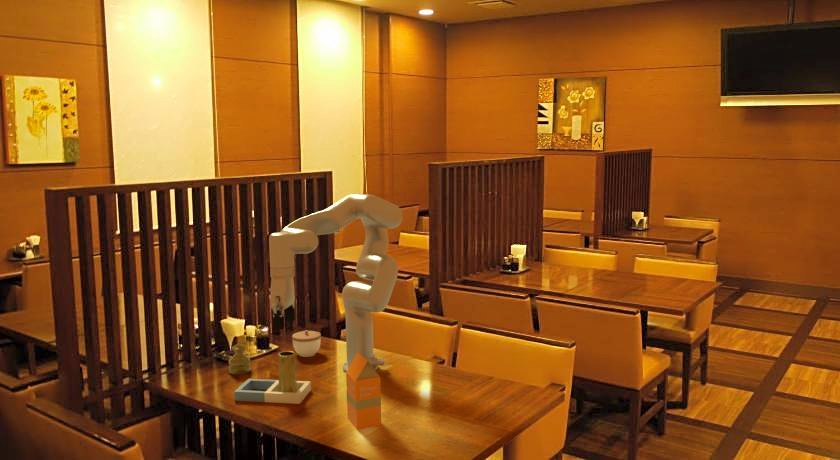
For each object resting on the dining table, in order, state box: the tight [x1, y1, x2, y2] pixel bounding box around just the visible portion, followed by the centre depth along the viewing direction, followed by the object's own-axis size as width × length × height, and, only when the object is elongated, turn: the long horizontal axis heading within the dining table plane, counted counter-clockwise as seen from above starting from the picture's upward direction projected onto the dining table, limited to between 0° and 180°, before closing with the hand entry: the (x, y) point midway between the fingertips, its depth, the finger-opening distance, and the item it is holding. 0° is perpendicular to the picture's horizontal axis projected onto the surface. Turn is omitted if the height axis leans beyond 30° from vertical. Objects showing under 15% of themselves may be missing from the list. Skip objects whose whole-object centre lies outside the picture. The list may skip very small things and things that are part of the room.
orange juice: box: [345, 353, 382, 430], centre depth 205 cm, size 8×9×20 cm
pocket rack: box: [233, 378, 312, 405], centre depth 227 cm, size 22×12×3 cm, turn 81°
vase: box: [277, 350, 298, 393], centre depth 225 cm, size 6×6×14 cm
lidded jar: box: [291, 329, 322, 358], centre depth 267 cm, size 11×11×9 cm
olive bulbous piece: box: [228, 343, 251, 376], centre depth 249 cm, size 7×7×10 cm
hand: (284, 324), depth 223 cm, fingers open, 9 cm apart
